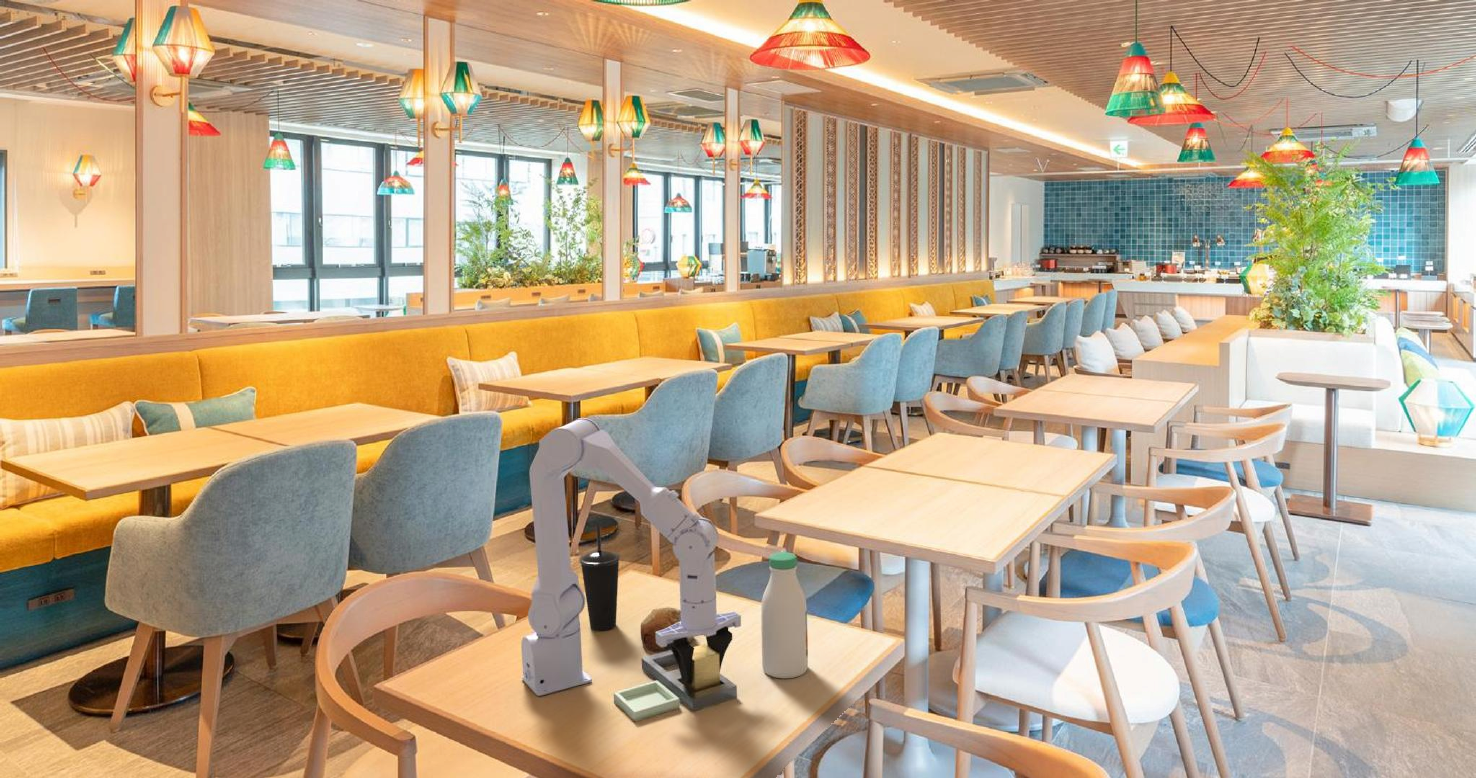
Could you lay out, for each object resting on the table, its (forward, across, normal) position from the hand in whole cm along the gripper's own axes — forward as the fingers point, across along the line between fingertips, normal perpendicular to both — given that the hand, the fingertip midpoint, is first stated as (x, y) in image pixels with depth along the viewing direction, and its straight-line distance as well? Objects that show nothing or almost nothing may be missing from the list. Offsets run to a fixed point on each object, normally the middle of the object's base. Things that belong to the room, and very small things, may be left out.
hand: (700, 677), depth 152 cm
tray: (+3, -9, +2) cm, 9 cm away
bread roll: (+3, +5, +21) cm, 22 cm away
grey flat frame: (+3, 0, +4) cm, 5 cm away
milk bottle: (+3, +16, 0) cm, 16 cm away
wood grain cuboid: (+3, 0, 0) cm, 3 cm away
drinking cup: (+3, -2, +34) cm, 35 cm away
